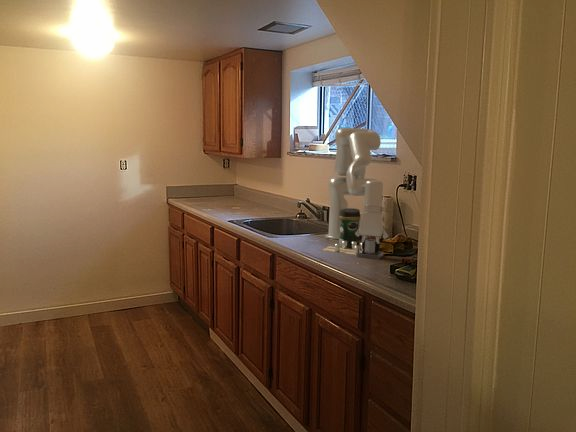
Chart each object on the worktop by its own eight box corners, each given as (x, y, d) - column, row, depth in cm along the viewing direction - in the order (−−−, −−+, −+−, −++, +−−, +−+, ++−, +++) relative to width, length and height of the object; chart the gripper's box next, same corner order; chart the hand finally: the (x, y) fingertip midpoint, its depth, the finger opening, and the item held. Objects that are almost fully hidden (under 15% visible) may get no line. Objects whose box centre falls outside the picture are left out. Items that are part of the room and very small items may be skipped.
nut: (363, 252, 227) (363, 238, 226) (374, 252, 228) (375, 238, 227) (365, 254, 223) (366, 240, 222) (377, 254, 223) (378, 240, 223)
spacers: (341, 247, 243) (342, 240, 243) (365, 250, 239) (365, 242, 238) (334, 251, 233) (334, 244, 232) (358, 254, 228) (359, 246, 228)
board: (328, 247, 246) (328, 246, 246) (366, 251, 239) (366, 250, 239) (320, 251, 235) (320, 250, 235) (359, 256, 228) (359, 254, 228)
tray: (362, 254, 232) (363, 250, 231) (383, 256, 228) (383, 252, 228) (357, 258, 223) (357, 253, 223) (378, 260, 220) (378, 256, 220)
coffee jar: (354, 245, 253) (355, 207, 250) (361, 248, 245) (363, 209, 243) (335, 246, 250) (337, 207, 247) (342, 249, 242) (344, 209, 240)
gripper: (394, 210, 223) (392, 252, 226) (355, 207, 230) (353, 248, 232) (390, 211, 216) (388, 255, 219) (351, 208, 223) (349, 251, 225)
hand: (370, 251), depth 225 cm, fingers open, 4 cm apart
